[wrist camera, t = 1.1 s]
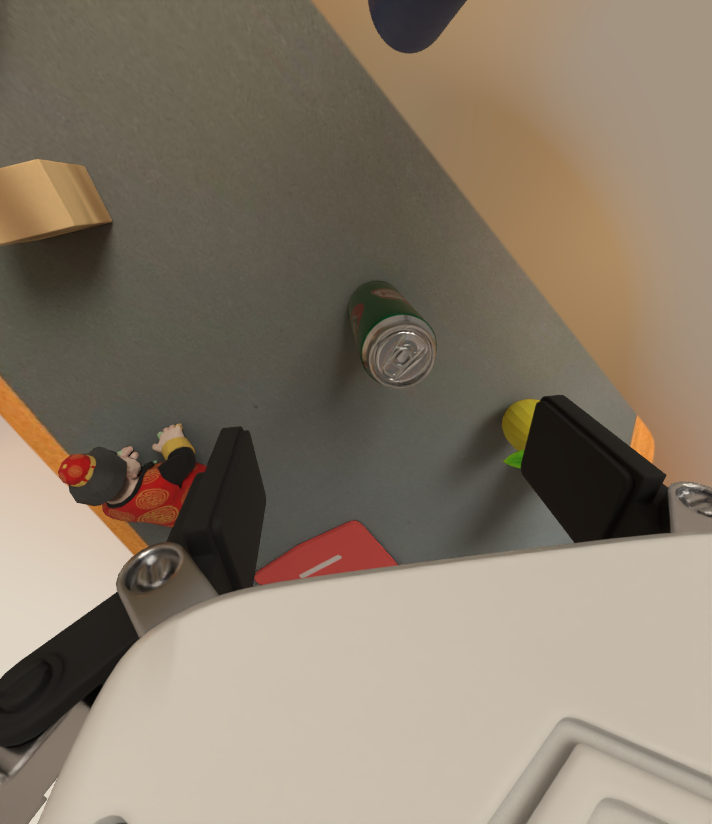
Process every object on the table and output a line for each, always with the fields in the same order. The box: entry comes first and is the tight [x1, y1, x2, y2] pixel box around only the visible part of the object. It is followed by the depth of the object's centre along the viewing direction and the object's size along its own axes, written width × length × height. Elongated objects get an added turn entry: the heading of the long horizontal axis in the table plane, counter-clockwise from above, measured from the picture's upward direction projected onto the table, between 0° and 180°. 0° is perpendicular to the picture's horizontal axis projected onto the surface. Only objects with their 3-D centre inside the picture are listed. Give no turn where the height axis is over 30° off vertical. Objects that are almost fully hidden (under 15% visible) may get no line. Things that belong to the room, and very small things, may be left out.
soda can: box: [348, 281, 437, 388], centre depth 27 cm, size 5×5×12 cm
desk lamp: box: [254, 521, 398, 585], centre depth 35 cm, size 18×38×40 cm, turn 33°
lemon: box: [502, 399, 540, 469], centre depth 36 cm, size 7×6×10 cm
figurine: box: [58, 423, 207, 528], centre depth 34 cm, size 10×10×15 cm
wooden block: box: [0, 159, 112, 246], centre depth 24 cm, size 6×4×5 cm, turn 102°
